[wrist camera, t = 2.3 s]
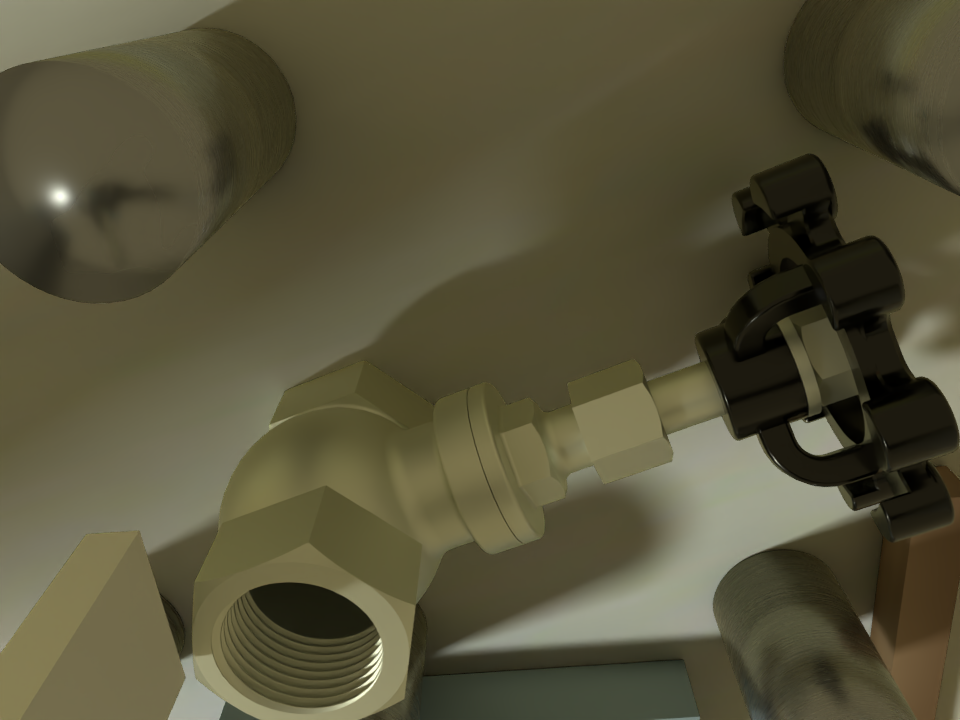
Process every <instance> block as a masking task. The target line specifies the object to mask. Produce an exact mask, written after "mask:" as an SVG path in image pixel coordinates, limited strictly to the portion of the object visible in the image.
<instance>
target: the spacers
mask: <svg viewBox="0 0 960 720" xmlns="http://www.w3.org/2000/svg"><path fill="white" fill-rule="evenodd" d="M783 62H784V78H785V83H786V87H787V90H788V93H789V96H790V98H791V100H792V102H793V104H794V105H795V107H796V108H797V110H798V111H799V112H800V113H801V115H802V116H803V117H804V118H805V119H806V120H808V121H809V122H810V123H811V124H813V125H814V126H816V127H818V128H819V129H821V130H823V131H825V132H827V133H829V134H831V135H834V136H836V137H838V138H840V139H842V140H844V141H846V142H848V143H850V144H852V145H854V146H857V147H859V148H861V149H863V150H865V151H867V152H869V153H871V154H873V155H875V156H877V157H879V158H882V159H884V160H886V161H888V162H890V163H892V164H894V165H896V166H898V167H900V168H902V169H905V170H907V171H909V172H911V173H913V174H915V175H917V176H919V177H921V178H923V179H925V180H927V181H930V182H932V183H934V184H936V185H938V186H940V187H942V188H944V189H946V190H948V191H950V192H953V193H955V194H957V195H959V196H960V0H807V1H806V2H805V4H804V5H803V7H802V8H801V10H800V11H799V13H798V14H797V16H796V18H795V20H794V22H793V24H792V26H791V29H790V32H789V35H788V37H787V42H786V46H785V51H784V60H783ZM295 131H296V111H295V104H294V100H293V96H292V93H291V91H290V88H289V85H288V83H287V81H286V79H285V77H284V75H283V74H282V72H281V71H280V69H279V68H278V66H277V65H276V64H275V63H274V61H273V60H272V59H271V58H270V57H269V56H268V55H267V54H266V53H265V52H264V51H263V50H262V49H261V48H259V47H258V46H256V45H255V44H254V43H252V42H251V41H249V40H247V39H245V38H243V37H242V36H239V35H237V34H234V33H232V32H228V31H224V30H220V29H213V28H197V29H191V30H185V31H180V32H176V33H171V34H166V35H161V36H156V37H151V38H147V39H142V40H137V41H132V42H127V43H122V44H118V45H113V46H108V47H103V48H98V49H93V50H89V51H84V52H79V53H74V54H69V55H64V56H60V57H55V58H50V59H45V60H40V61H35V62H31V63H26V64H22V65H19V66H16V67H13V68H10V69H7V70H5V71H3V72H1V73H0V263H1V264H2V265H3V266H4V267H5V268H7V269H8V270H9V271H11V272H12V273H13V274H15V275H16V276H17V277H19V278H20V279H22V280H24V281H25V282H27V283H29V284H30V285H32V286H34V287H36V288H38V289H40V290H42V291H44V292H47V293H49V294H52V295H55V296H58V297H61V298H64V299H68V300H73V301H78V302H86V303H113V302H119V301H125V300H128V299H132V298H135V297H138V296H140V295H143V294H145V293H147V292H149V291H151V290H153V289H154V288H156V287H157V286H159V285H160V284H162V283H163V282H164V281H165V280H166V279H168V278H169V277H170V276H171V275H172V274H173V273H174V272H175V271H176V270H177V269H178V268H179V267H180V266H181V265H182V264H183V263H184V262H185V261H186V260H188V259H189V258H190V257H191V256H192V255H193V254H194V253H195V252H196V251H197V250H198V249H199V248H200V247H201V246H202V245H203V244H204V243H205V242H206V241H207V240H208V239H209V238H210V237H211V236H212V235H213V234H214V233H215V232H216V231H217V230H218V229H219V228H220V227H221V226H222V225H223V224H224V223H225V222H226V221H227V220H228V219H229V218H230V217H231V216H232V215H234V214H235V213H236V212H237V211H238V210H239V209H240V208H241V207H242V206H243V205H244V204H245V203H246V202H247V201H248V200H249V199H250V198H251V197H252V196H253V195H254V194H255V193H256V192H257V191H258V190H259V189H260V188H261V187H262V186H263V185H264V184H265V183H266V182H267V181H268V180H269V179H270V178H271V177H272V176H273V175H274V174H275V173H276V172H277V171H278V170H279V169H280V168H281V166H282V165H283V164H284V162H285V160H286V159H287V157H288V155H289V153H290V151H291V148H292V145H293V142H294V138H295ZM160 598H161V601H162V604H163V607H164V610H165V614H166V617H167V620H168V623H169V626H170V629H171V633H172V636H173V639H174V642H175V645H176V649H177V652H178V655H180V653H181V651H182V649H183V645H184V641H185V630H184V625H183V623H182V620H181V618H180V616H179V614H178V612H177V611H176V610H175V608H174V607H173V606H172V605H171V604H170V603H169V602H168V601H167V600H166V599H165V598H163V597H162V596H161V595H160ZM713 612H714V616H715V619H716V622H717V625H718V628H719V631H720V633H721V636H722V639H723V642H724V645H725V648H726V650H727V653H728V656H729V659H730V662H731V664H732V667H733V670H734V673H735V676H736V679H737V681H738V684H739V687H740V690H741V693H742V696H743V698H744V701H745V704H746V707H747V710H748V712H749V715H750V718H751V720H917V718H916V717H915V715H914V713H913V712H912V710H911V708H910V706H909V705H908V703H907V701H906V699H905V698H904V696H903V694H902V692H901V691H900V689H899V687H898V685H897V684H896V682H895V680H894V679H893V677H892V675H891V673H890V672H889V670H888V668H887V666H886V665H885V663H884V661H883V659H882V658H881V656H880V654H879V652H878V651H877V649H876V647H875V645H874V644H873V642H872V640H871V639H870V637H869V635H868V633H867V632H866V630H865V628H864V626H863V625H862V623H861V621H860V619H859V618H858V616H857V614H856V612H855V611H854V609H853V607H852V606H851V604H850V602H849V600H848V599H847V597H846V595H845V593H844V592H843V590H842V588H841V586H840V585H839V583H838V581H837V579H836V578H835V576H834V574H833V572H832V571H831V570H830V569H829V567H828V566H827V565H826V564H825V563H823V562H822V561H821V560H819V559H818V558H816V557H814V556H812V555H810V554H807V553H804V552H799V551H793V550H775V551H769V552H764V553H761V554H758V555H755V556H752V557H750V558H748V559H746V560H744V561H742V562H741V563H739V564H738V565H736V566H735V567H734V568H732V569H731V570H730V571H729V572H728V573H727V574H726V575H725V577H724V578H723V579H722V580H721V582H720V584H719V585H718V587H717V589H716V592H715V595H714V600H713ZM426 639H427V623H426V618H425V616H424V613H423V611H422V610H421V608H420V606H419V605H418V604H416V607H415V615H414V623H413V632H412V640H411V648H410V657H409V665H408V673H407V681H406V689H405V697H404V700H402V701H400V702H398V703H396V704H394V705H392V706H390V707H388V708H386V709H384V710H382V711H379V712H377V713H375V714H372V715H370V716H367V717H365V718H362V719H359V720H419V719H420V708H421V697H422V685H423V674H424V662H425V651H426Z"/></svg>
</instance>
